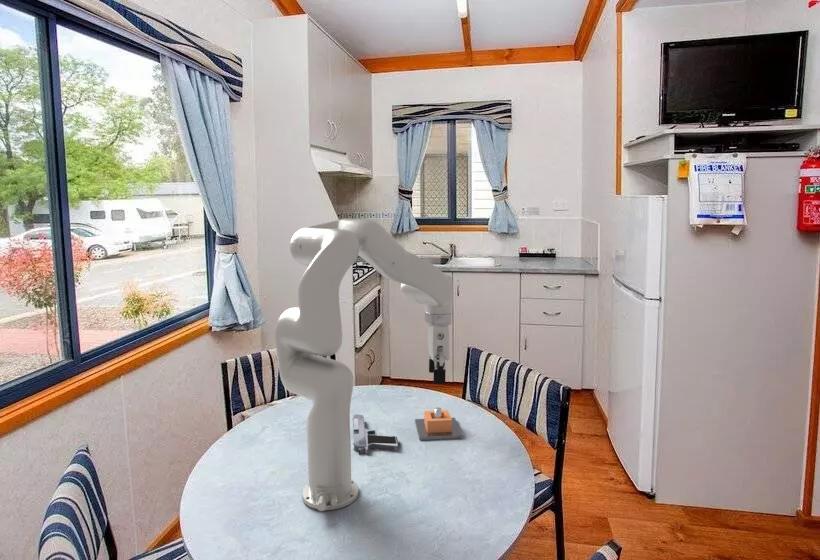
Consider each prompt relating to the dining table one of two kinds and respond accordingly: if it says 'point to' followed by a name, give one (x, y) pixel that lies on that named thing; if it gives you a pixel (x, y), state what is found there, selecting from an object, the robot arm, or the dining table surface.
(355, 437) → the handgun
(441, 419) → the orange square ring block
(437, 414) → the plate
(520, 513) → the dining table surface
